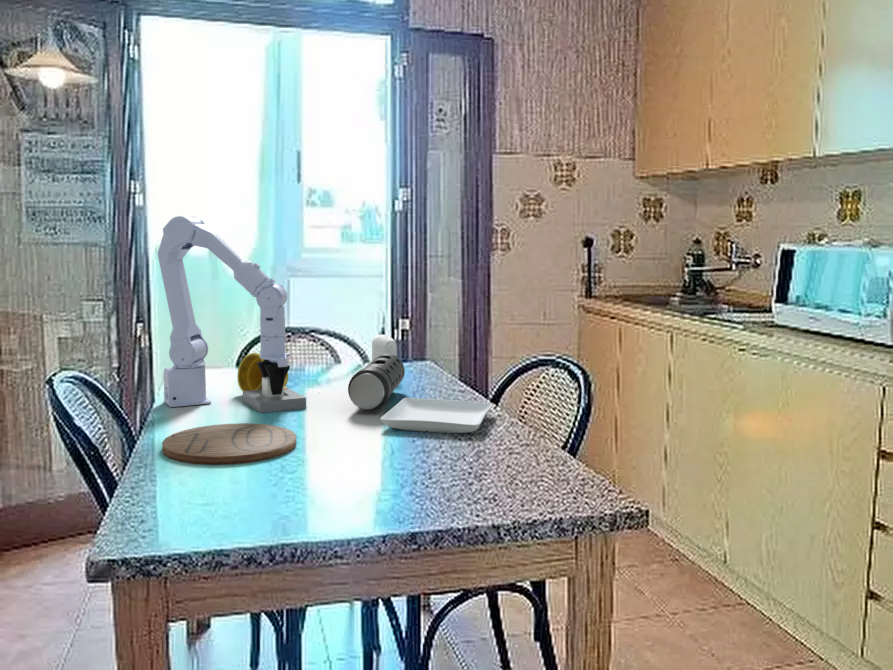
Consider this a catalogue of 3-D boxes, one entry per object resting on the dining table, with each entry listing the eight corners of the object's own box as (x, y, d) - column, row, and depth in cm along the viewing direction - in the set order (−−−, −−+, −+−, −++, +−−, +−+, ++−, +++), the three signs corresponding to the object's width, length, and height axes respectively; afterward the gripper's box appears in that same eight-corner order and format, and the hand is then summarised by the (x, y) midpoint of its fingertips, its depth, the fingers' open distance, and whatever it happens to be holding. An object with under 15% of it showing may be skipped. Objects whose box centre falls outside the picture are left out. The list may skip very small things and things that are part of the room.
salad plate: (479, 439, 168) (479, 423, 167) (378, 433, 172) (378, 417, 171) (493, 416, 188) (494, 401, 188) (403, 411, 193) (403, 397, 192)
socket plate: (260, 412, 188) (260, 401, 187) (242, 401, 200) (242, 390, 200) (306, 408, 193) (306, 396, 193) (286, 397, 205) (286, 386, 205)
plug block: (267, 401, 194) (267, 379, 193) (262, 398, 197) (261, 376, 196) (283, 399, 196) (283, 378, 195) (278, 396, 199) (278, 375, 198)
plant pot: (298, 383, 208) (268, 378, 200) (273, 405, 212) (243, 402, 205) (286, 350, 213) (257, 344, 205) (262, 372, 217) (232, 368, 210)
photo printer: (398, 381, 228) (398, 336, 227) (384, 382, 226) (384, 337, 225) (383, 375, 237) (383, 332, 236) (369, 376, 235) (369, 333, 234)
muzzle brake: (405, 392, 214) (406, 353, 212) (387, 417, 186) (387, 371, 185) (369, 391, 214) (369, 351, 213) (345, 415, 187) (345, 370, 185)
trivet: (157, 471, 144) (157, 460, 144) (166, 436, 168) (166, 426, 168) (302, 461, 151) (302, 451, 150) (290, 429, 175) (290, 420, 174)
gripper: (299, 338, 190) (300, 396, 192) (279, 331, 203) (280, 385, 204) (269, 340, 187) (270, 399, 188) (251, 333, 199) (252, 388, 201)
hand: (273, 392), depth 196 cm, fingers closed on plug block, 4 cm apart
